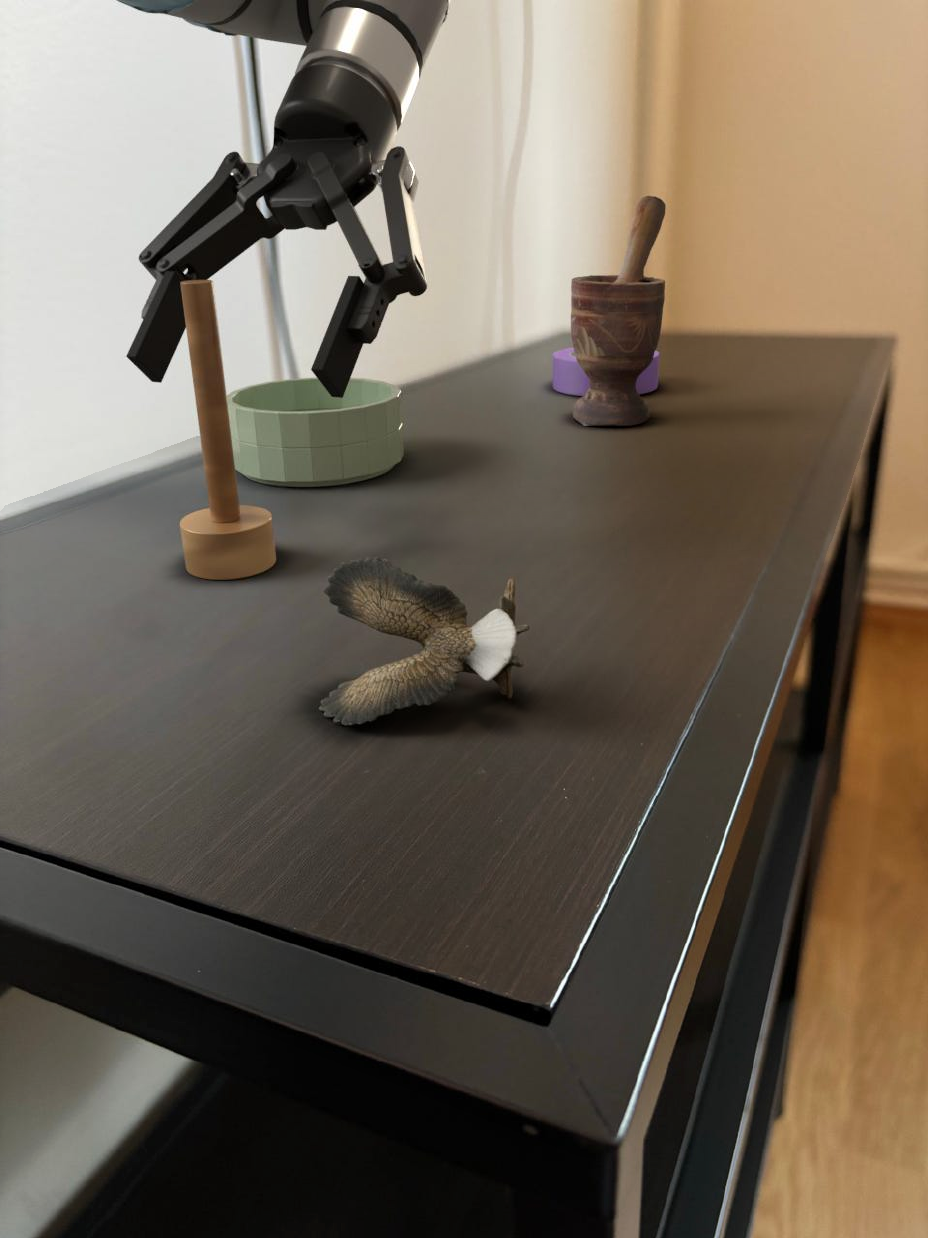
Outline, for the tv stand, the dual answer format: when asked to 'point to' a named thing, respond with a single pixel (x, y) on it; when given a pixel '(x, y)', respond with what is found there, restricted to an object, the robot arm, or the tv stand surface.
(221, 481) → the wooden peg stand
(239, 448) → the bowl
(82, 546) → the tv stand surface
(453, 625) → the eagle figurine
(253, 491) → the tv stand surface
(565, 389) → the tape roll
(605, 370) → the mortar and pestle
